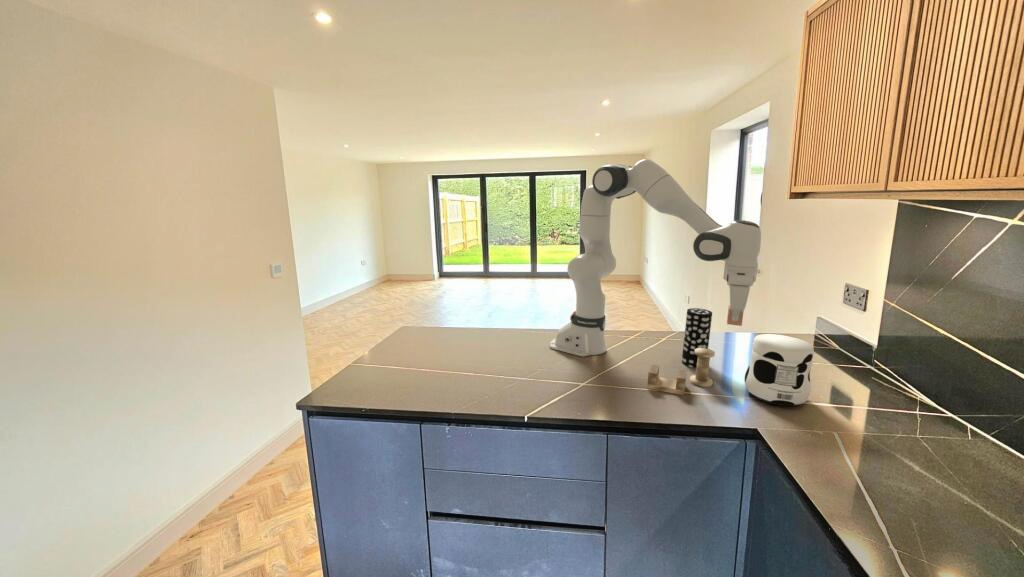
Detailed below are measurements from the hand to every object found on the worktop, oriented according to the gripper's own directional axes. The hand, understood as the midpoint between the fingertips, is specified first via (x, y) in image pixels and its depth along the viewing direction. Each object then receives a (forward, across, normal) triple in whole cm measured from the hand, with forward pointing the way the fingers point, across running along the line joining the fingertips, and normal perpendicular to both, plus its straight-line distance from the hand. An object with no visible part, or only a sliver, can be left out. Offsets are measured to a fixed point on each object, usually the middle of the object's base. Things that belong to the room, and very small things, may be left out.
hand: (734, 318), depth 132 cm
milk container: (+24, -1, +13) cm, 28 cm away
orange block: (+2, 0, 0) cm, 2 cm away
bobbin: (+24, -1, -8) cm, 25 cm away
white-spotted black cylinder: (+24, -17, -11) cm, 31 cm away
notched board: (+24, +8, -17) cm, 30 cm away
